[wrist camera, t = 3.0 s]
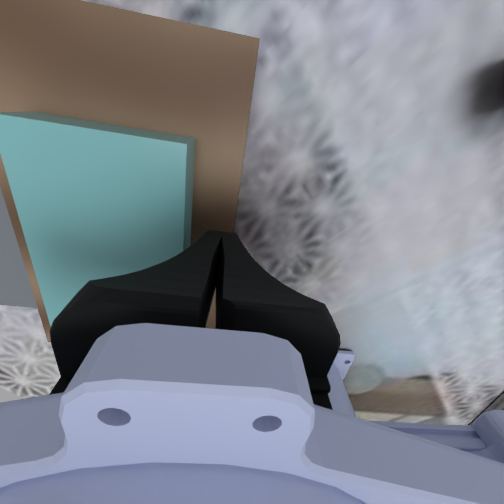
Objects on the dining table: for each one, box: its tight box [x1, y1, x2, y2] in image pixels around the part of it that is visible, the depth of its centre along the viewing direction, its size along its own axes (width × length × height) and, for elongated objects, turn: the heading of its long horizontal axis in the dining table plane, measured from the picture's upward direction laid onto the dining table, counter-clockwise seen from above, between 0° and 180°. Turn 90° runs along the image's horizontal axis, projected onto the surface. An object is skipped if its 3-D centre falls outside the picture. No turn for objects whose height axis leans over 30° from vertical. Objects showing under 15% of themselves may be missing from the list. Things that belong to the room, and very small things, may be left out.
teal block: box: [0, 111, 196, 326], centre depth 11 cm, size 9×6×2 cm, turn 171°
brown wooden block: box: [0, 0, 260, 342], centre depth 14 cm, size 16×10×4 cm, turn 171°
